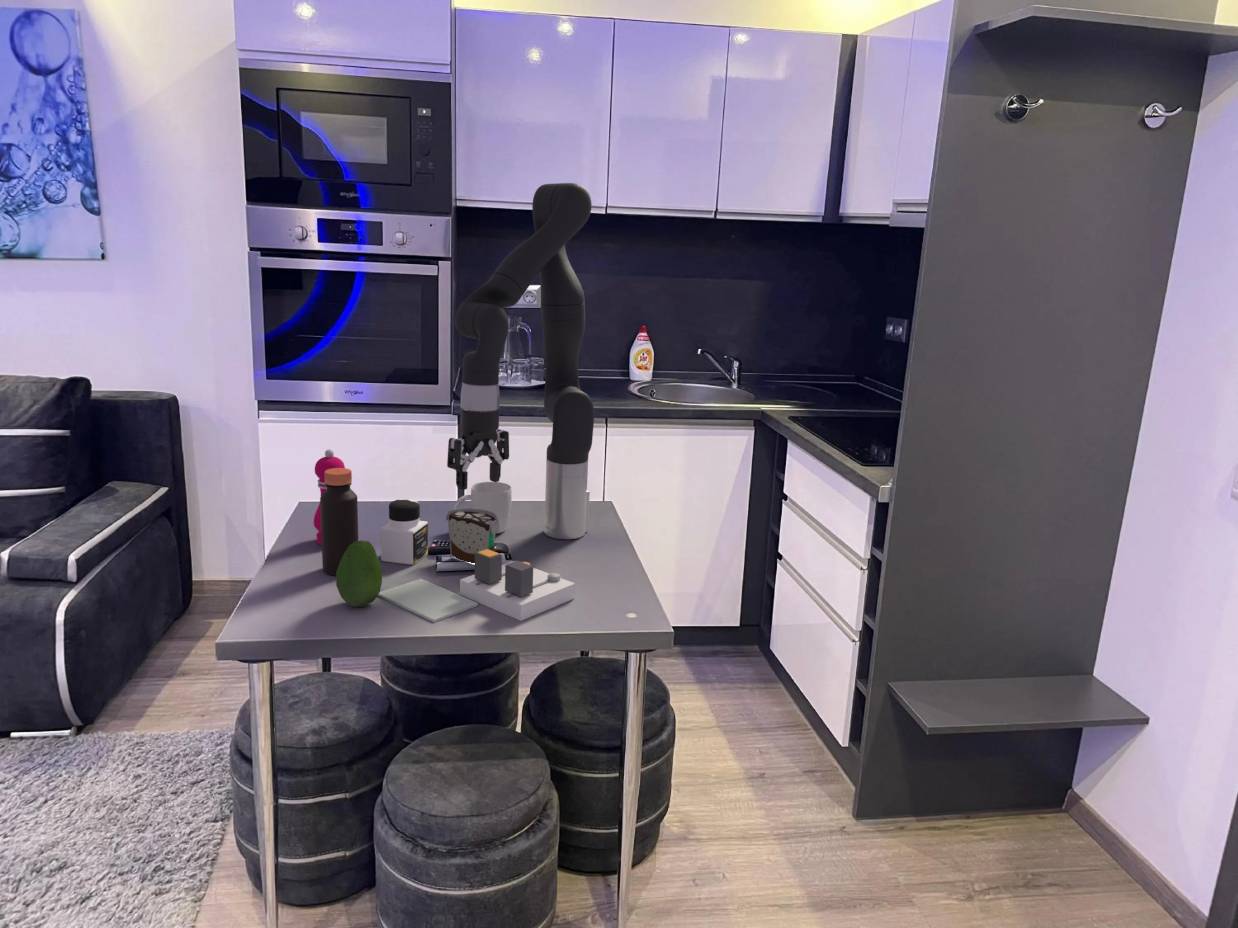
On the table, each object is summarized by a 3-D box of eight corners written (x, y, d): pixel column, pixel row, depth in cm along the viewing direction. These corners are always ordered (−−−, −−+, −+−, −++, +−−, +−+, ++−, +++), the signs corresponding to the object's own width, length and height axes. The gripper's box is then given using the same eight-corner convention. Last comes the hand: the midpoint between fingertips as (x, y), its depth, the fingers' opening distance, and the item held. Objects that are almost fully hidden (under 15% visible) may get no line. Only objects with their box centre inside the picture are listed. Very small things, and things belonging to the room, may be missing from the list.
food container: (511, 562, 183) (512, 516, 181) (491, 571, 178) (492, 523, 175) (465, 548, 189) (466, 503, 187) (445, 556, 184) (445, 510, 182)
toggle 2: (516, 586, 163) (517, 560, 162) (532, 592, 160) (533, 566, 159) (504, 590, 161) (505, 564, 159) (520, 597, 158) (521, 570, 157)
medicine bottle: (414, 565, 179) (413, 508, 176) (380, 561, 180) (379, 504, 177) (428, 553, 185) (428, 498, 182) (396, 549, 187) (395, 494, 184)
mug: (508, 522, 207) (509, 481, 204) (513, 535, 199) (514, 492, 196) (452, 524, 204) (452, 482, 202) (455, 537, 196) (455, 493, 193)
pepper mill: (318, 534, 193) (315, 444, 188) (353, 535, 194) (350, 445, 188) (310, 546, 186) (306, 453, 181) (346, 547, 187) (343, 454, 182)
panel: (514, 574, 177) (514, 556, 176) (574, 598, 167) (575, 579, 166) (459, 594, 166) (460, 575, 165) (520, 620, 156) (521, 600, 155)
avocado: (390, 599, 163) (389, 536, 160) (369, 616, 155) (367, 551, 152) (350, 593, 164) (348, 531, 161) (327, 609, 157) (325, 545, 154)
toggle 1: (486, 574, 168) (487, 548, 166) (501, 580, 165) (502, 553, 164) (474, 578, 165) (474, 551, 164) (489, 584, 163) (489, 557, 162)
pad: (421, 580, 171) (421, 578, 171) (477, 605, 162) (477, 603, 162) (377, 595, 164) (377, 593, 164) (434, 622, 154) (434, 619, 154)
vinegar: (344, 560, 179) (341, 464, 174) (366, 569, 176) (364, 471, 170) (315, 570, 174) (311, 471, 169) (337, 579, 170) (334, 478, 165)
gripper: (493, 398, 183) (492, 475, 187) (439, 406, 172) (438, 487, 177) (519, 404, 179) (517, 482, 183) (465, 413, 168) (463, 495, 172)
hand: (478, 485), depth 180 cm, fingers open, 8 cm apart
